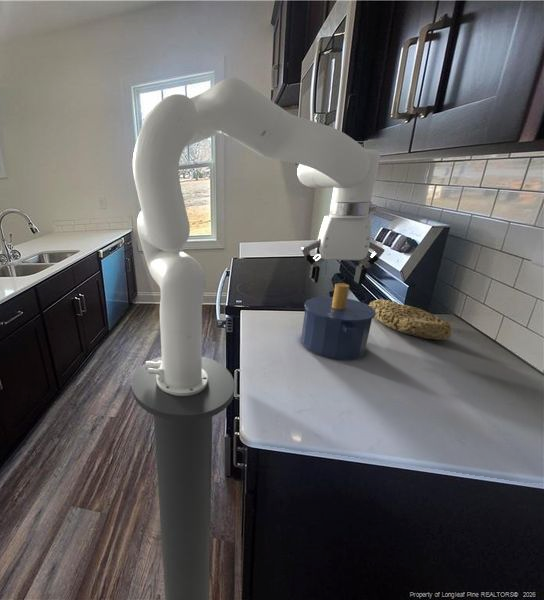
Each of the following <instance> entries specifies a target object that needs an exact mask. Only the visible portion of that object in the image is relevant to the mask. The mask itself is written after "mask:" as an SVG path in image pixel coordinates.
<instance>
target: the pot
mask: <svg viewBox="0 0 544 600" xmlns="http://www.w3.org/2000/svg"><path fill="white" fill-rule="evenodd" d="M372 322H373V318H372V319H370V320H367V321H362V322H342V321H335V320H329V319H325V318H322V317H319V316H316V315H314V314H312V313H310V312H308V311H307V310H306V309H305V308H304V314H303V322H302V328H301V329H302V330H301V339H300V340H301V345H302V346H303V347H304V349H306V350H307V351H309V352H311V353H313V354H314V355H318V356H321V357H322V358H327V359H333V360H337V361H338V360H339V361H350V360H351V361H352V360H357V359H359V358H362V357H363V356H364V354H365V353H366V349H367V344H368V340H369V334H370V331H371V330H370V329H371V325H372Z"/></svg>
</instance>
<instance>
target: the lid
mask: <svg viewBox="0 0 544 600" xmlns="http://www.w3.org/2000/svg"><path fill="white" fill-rule="evenodd" d="M349 290H350V285H349V284H347V283H343V282H342V283H341V282H339V283H335V284H334V289H333V295H332V296H318V297H317V296H316V297H312V298H309V299H307V300H305V302H304V306H303V307H304V310H305V309H306V310H307V311H308V312H310V313H312V314H314V315H316V316H319V317H322V318H325V319H329V320H335V321H342V322H362V321H367V320H370V319H372V320H373V319H375V318H374V317H375V315H376V311H375V310H374V309H373V308H372V307H371V306H369V304H367V303H364V302H362V301H360V300H356V299H351V298H348V295H349Z"/></svg>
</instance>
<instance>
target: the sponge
mask: <svg viewBox="0 0 544 600" xmlns="http://www.w3.org/2000/svg"><path fill="white" fill-rule="evenodd" d="M368 305H369V306H371V307H372V308H373V309H374V310H375V311H376V315H375V317H374V318H373V319H374V320H376V321H379V322H380V323H381V324H383V325H385V326H387V327H389V329H393V330H395V331H397V332H401V333H402V334H405V335H409V336H415V337H419V338H423V339H426V340H438V341H443V340H447V339H449V338H451V337H452V327H451V325H450V323H448V322H447V321H446V320H444V319H443V318H440V317H439V316H437V315H434V314H433V313H430V312H429V311H426V310H423V309H422V308H419V307H414V306H411V305H408V304H400V303H398V302H397V301H396V300H389V299H384V298H379V299H376V300H372V301H370V302H369V304H368Z"/></svg>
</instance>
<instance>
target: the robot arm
mask: <svg viewBox="0 0 544 600" xmlns="http://www.w3.org/2000/svg"><path fill="white" fill-rule="evenodd" d="M220 134H223V135H225V136H227V137H229V138H230V139H232V140H234V141H235V142H237V143H239V144H241V145H242V146H244V147H245V148H247V149H249V150H250V151H252V152H254V153H255V154H257V155H258V156H260V157H262V158H265V159H268V160H272V161H276V162H285V163H292V164H298V167H297V171H296V172H297V173H296V174H297V178H298V180H299V182H300V183H301V184H302V185H304V186H306V187H308V188H314V189H330V188H331V189H333V190H332V197H331V202H330V208H329V215H328V214H327V215H324V217H323V220H322V223H321V225H320V229H319V232H318V236H317V240H316V241H313V242H311V243H309V244H307V245H304V246H302V247H301V252H302V255H303V256H304V259H305V260H306V261H307V262H308V263H309V264H310V269H309V270H310V271H309V279H310V280H311V282H312V283H314V284H317V283H318V282H319V276H320V270H321V267H320V264H322V263H323V262H324V261H326V260H327V261H357V262H358V263H359V264H357V265H356V267H355V268H356V269H355V273H354V278H353V281H354V282H355V283H356V284H358V285H363V282H364V281H365V279H366V276H367V273H368V271H367V270H368V269H369V268H370V267H371V266H372V265H373V264H375V263H377V261H378V260H379V258H380V257H381V256H382V255H383V253H384V252H385V248H383V247H381V246H379V245H377V244H375V243H373V242H371V236H372V235H371V234H372V216H370V214H371V213H370V212H372V211H376V210H377V208H378V205H377V203H376V204H375V203H373V202H372V199H373V193H374V188H375V183H376V180H377V179H376V178H377V173H378V169H379V164H380V160H381V159H380V158H381V153H380V151H378V149H372V148H371V149H368V148H367V149H365V148H364V146H362V145H361V144H360V143H359V142H357V141H356V140H355V139H353V138H352V137H350V136H349V135H348V134H346V133H345V132H343V131H341V130H339V129H337V128H335V127H332V126H329V125H327V124H324V123H320V122H317V121H314V120H310V119H308V118H305V117H301V116H297V115H294V114H292V113H290V112H289V111H287V110H285V109H284V108H283V107H281V106H279V105H278V104H277V103H275V102H274V101H273V100H271V99H269V98H268V97H267V96H265V95H264V94H262V92H260V91H258V90H257V89H255V88H254V87H252V86H251V85H249V84H248V83H246V81H243V80H241V79H239V78H237V77H228V78H224V79H222V80H220V81H218V82H217V83H215V84H214V85H212V86H211V87H209V88H208V89H207V90H205V91H204V92H201V93H199V94H197V95H194V96H193V97H189V96H186V95H184V94H181V93H180V94H179V93H177V94H171V95H168V96H166V97H164V98H163V99H162V100H160V101H159V102H158V103H157V104H156V105H155V106H154V107H153V108H152V109H151V110H150V111H149V112H148V113H147V114H146V116H145V117H144V119H143V121H142V123H141V127H140V131H139V133H138V136H137V139H136V141H135V145H134V150H133V155H132V172H133V173H132V174H133V179H134V185H135V189H136V193H137V198H138V202H139V207H140V211H139V213H138V215H137V220H136V229H137V233H138V238H139V241H140V245H141V248H142V252H143V256H144V258H145V262H146V265H147V268H148V271H149V273H150V276H151V277H152V279H153V280H154V282H155V283H156V284H157V285H158V287H159V291H160V301H159V302H160V303H159V329H160V330H159V331H160V346H161V347H160V349H161V351H160V352H161V353H160V354H161V356H162V361H158V362H151V361H150V360H146V361H145V362H144V364H145V368H146V369H148V374H157V377H156V379H157V384H158V386H159V387H160V388H161V389H162V390H163V391H165V392H167V393H169V394H172V395H176V396H189V395H194V394H197V393H199V392H201V391H202V390H204V389H205V388H206V386H207V384H208V375H207V373H206V372H205V371H204V370H203V369H202V356H203V355H202V354H203V301H204V295H205V289H206V280H207V279H206V274H205V271H204V269H203V267H202V265H201V264H200V262H199V261H198V260H197V259H196V258H194V257H192V256H191V255H189V254H188V253H186V252H184V248H183V247H184V246H185V244H187V241H188V240H189V237H190V231H191V228H190V227H191V226H190V221H189V217H188V213H187V209H186V204H185V199H184V196H183V192H182V186H181V179H180V170H179V169H180V161H181V157H182V154H183V153H184V152H183V151H185V148H186V147H189V146H191V145H194V144H197V143H200V142H201V141H205V140H207V139H210V138H213V137H215V136H217V135H220ZM313 250H315V254H316V255H315V256H314V257H312V255H311V251H313ZM369 250H372V251H373V252H372V254H371V255H369V256H368V254H369ZM367 256H368V257H367Z"/></svg>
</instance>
